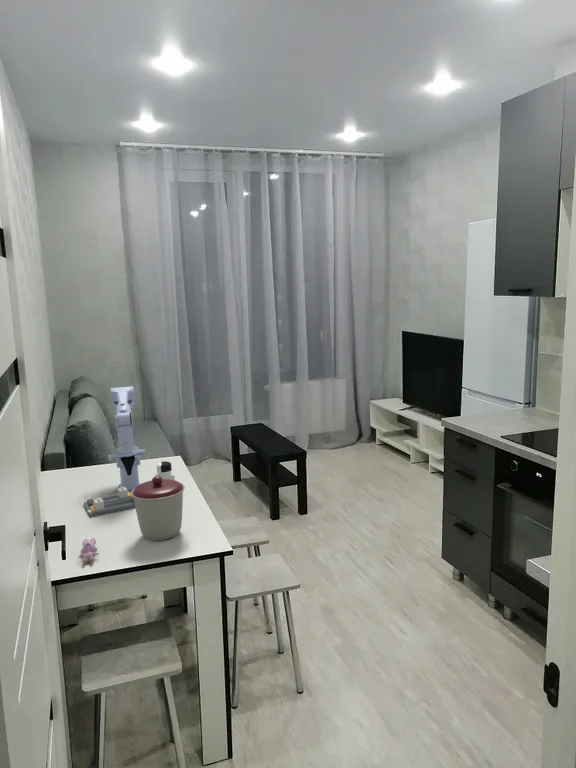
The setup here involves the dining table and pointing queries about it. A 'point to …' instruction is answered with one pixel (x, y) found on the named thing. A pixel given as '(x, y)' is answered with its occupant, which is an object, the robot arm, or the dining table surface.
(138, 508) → the canister
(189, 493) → the dining table surface
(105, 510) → the switch board
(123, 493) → the tab
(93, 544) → the rabbit figure
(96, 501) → the tab
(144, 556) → the dining table surface
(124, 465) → the robot arm
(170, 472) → the medicine bottle
